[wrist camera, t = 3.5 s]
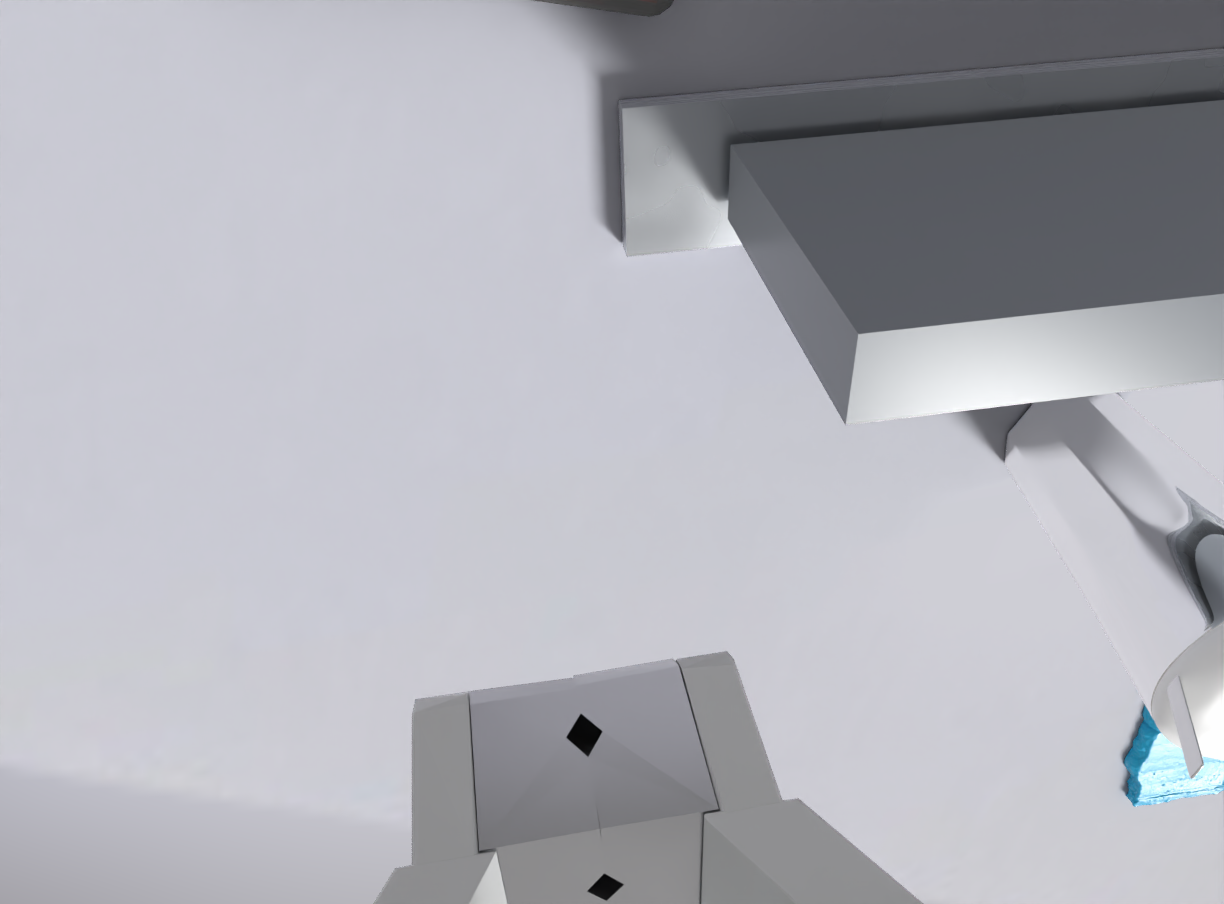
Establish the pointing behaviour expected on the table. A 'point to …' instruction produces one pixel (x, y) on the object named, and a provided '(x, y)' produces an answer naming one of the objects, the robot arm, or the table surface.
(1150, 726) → the sponge
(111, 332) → the table surface
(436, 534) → the table surface
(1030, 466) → the milkshake
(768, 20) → the table surface
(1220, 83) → the rail
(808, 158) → the screen
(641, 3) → the walkie-talkie
